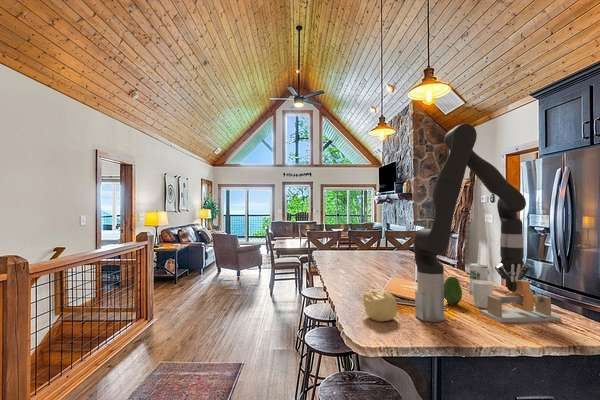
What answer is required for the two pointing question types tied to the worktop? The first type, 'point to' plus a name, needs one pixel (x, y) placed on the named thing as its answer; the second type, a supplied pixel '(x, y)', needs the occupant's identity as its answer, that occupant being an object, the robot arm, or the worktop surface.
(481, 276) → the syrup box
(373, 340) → the worktop surface
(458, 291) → the avocado
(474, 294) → the white cup
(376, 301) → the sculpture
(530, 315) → the pipe stand
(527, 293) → the collar
